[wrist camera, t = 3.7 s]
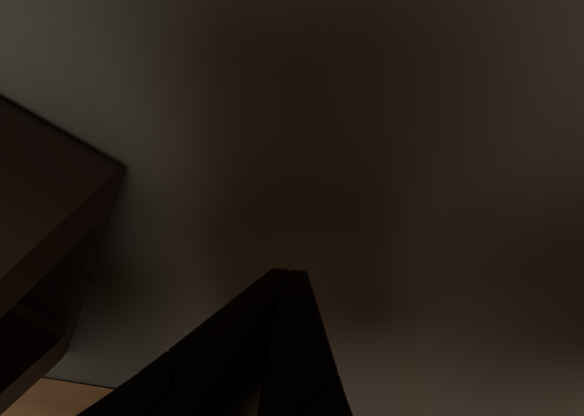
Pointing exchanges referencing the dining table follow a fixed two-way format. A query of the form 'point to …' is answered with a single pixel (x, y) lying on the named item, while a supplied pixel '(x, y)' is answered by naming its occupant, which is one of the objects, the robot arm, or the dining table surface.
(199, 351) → the robot arm
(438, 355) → the dining table surface
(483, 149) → the dining table surface
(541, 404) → the dining table surface
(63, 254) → the phone stand
